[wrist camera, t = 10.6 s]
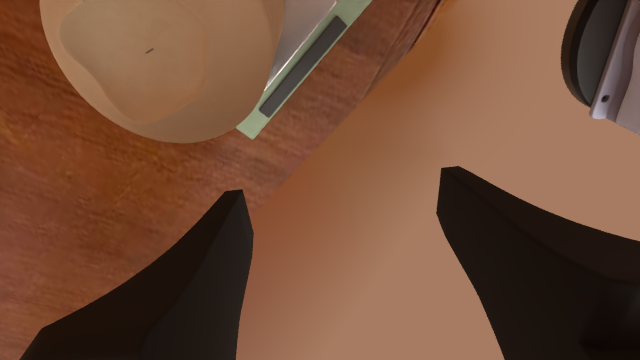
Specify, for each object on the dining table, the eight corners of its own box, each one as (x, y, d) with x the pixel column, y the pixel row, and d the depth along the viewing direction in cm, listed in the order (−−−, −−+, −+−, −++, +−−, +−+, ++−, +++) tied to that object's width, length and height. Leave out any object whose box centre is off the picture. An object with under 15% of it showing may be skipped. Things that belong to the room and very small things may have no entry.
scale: (368, -6, 18) (375, -3, 16) (256, 126, 22) (252, 142, 20) (203, -185, 14) (189, -207, 13) (101, 12, 18) (78, 17, 16)
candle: (268, 83, 18) (239, 191, 9) (157, 48, 17) (8, 134, 8) (299, -37, 15) (298, -38, 7) (169, -88, 14) (-36, -170, 5)
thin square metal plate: (337, 0, 17) (338, 1, 16) (247, 111, 19) (245, 115, 19) (202, -139, 14) (197, -144, 13) (119, 15, 16) (112, 16, 16)
